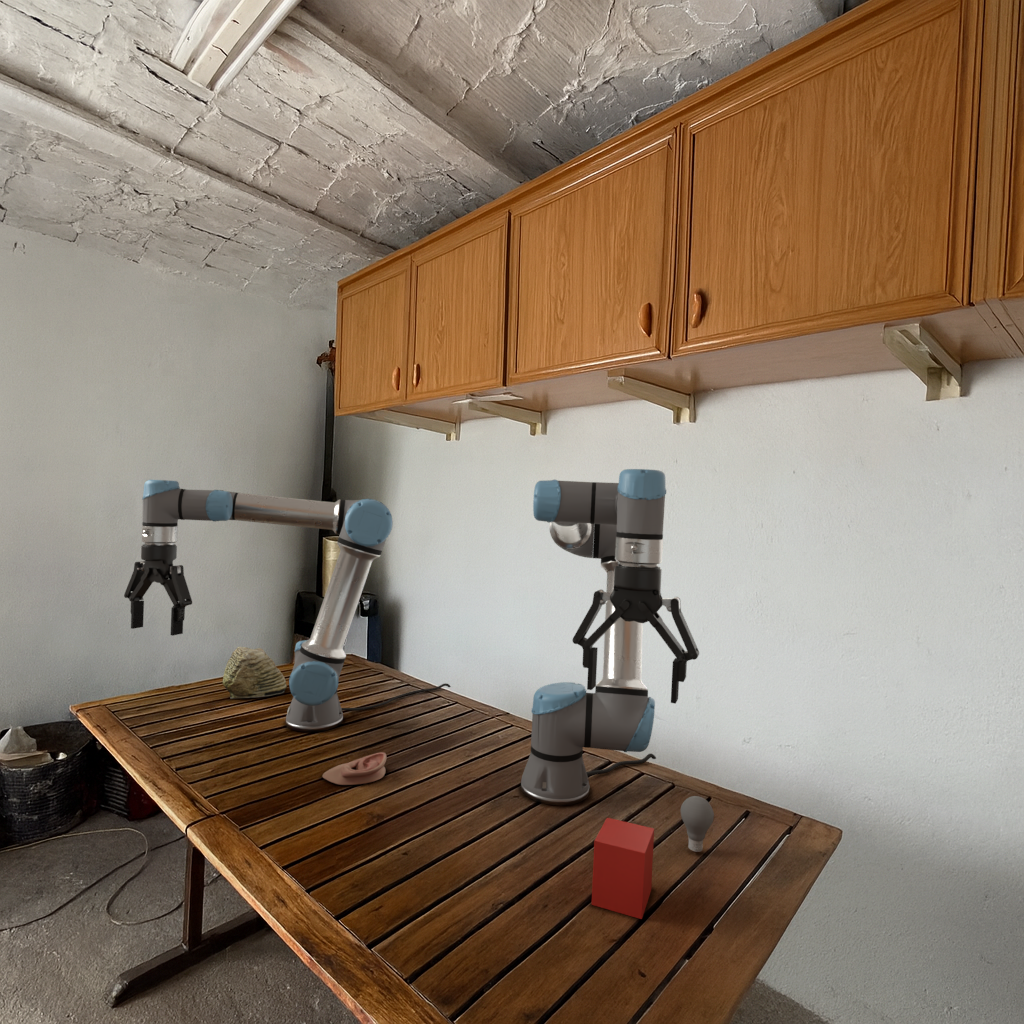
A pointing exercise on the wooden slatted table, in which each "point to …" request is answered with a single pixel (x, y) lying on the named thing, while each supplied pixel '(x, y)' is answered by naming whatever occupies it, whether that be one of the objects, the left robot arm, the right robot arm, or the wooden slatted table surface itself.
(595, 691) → the right robot arm
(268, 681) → the fossil
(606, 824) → the brick
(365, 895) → the wooden slatted table surface
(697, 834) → the light bulb
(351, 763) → the anatomical model
